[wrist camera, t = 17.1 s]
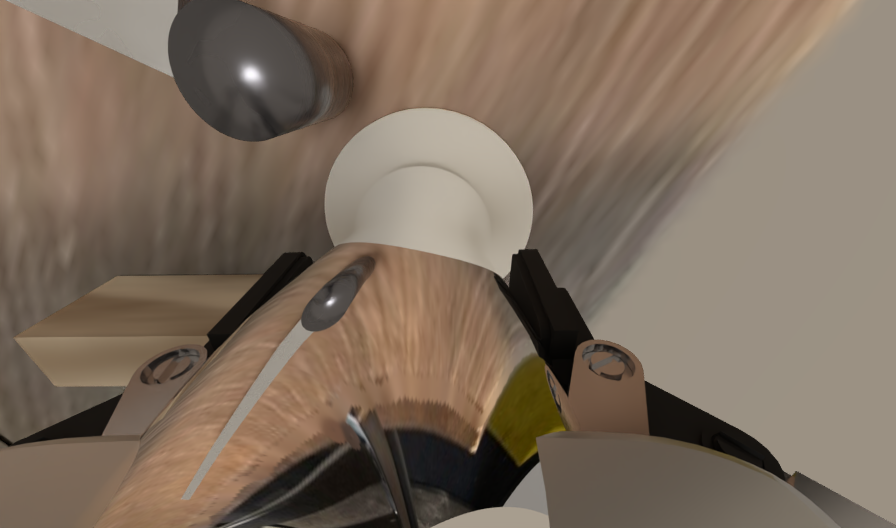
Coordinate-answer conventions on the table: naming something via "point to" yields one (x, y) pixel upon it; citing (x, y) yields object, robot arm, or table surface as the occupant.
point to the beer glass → (362, 391)
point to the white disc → (441, 146)
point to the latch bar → (221, 58)
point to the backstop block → (129, 325)
